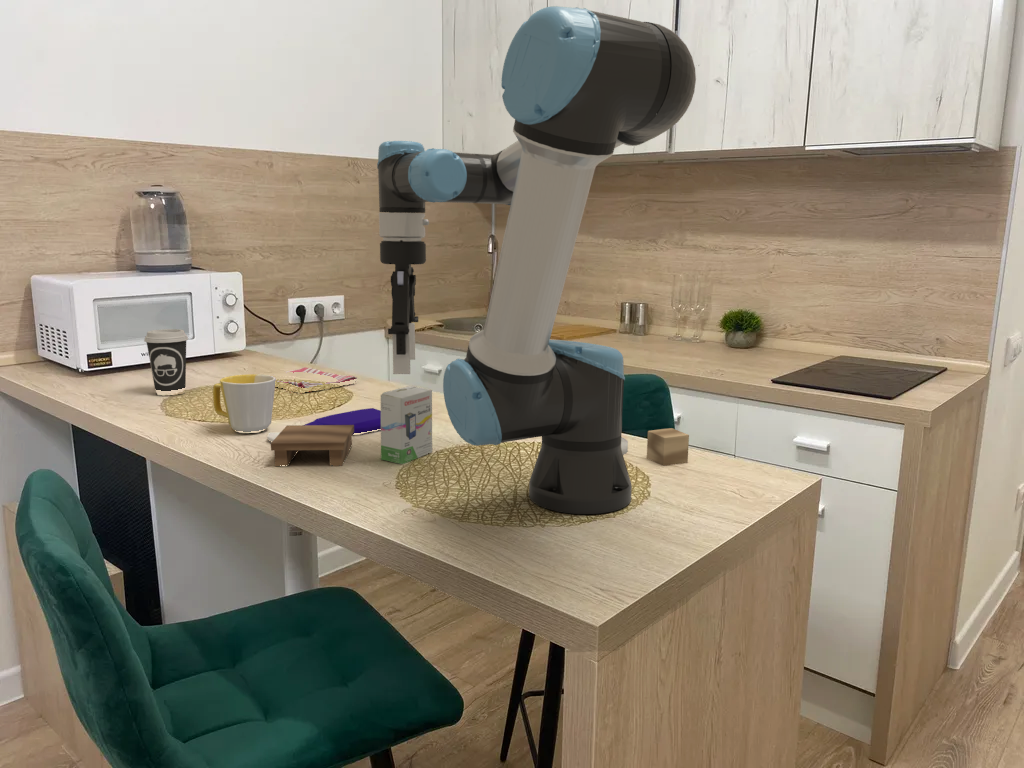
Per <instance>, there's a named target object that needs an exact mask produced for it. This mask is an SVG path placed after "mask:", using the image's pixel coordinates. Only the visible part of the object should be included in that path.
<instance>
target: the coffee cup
mask: <svg viewBox="0 0 1024 768" xmlns="http://www.w3.org/2000/svg"><path fill="white" fill-rule="evenodd" d="M188 340H189V336H188V335H187V334H186V333H185V330H184V329H180V328H179V329H178V328H177V329H175V328H166V329H165V328H164V329H153V330H147V332H146V336H144V339H143V342H145V343H146V347H147V352H148V358H149V363H150V368H151V374H152V380H153V385H154V390H155V389H156V390H161V391H171V390H178V389H182V388H185V387H186V384H187V383H186V379H187V378H186V375H187V373H186V372H187V341H188Z"/></svg>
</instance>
